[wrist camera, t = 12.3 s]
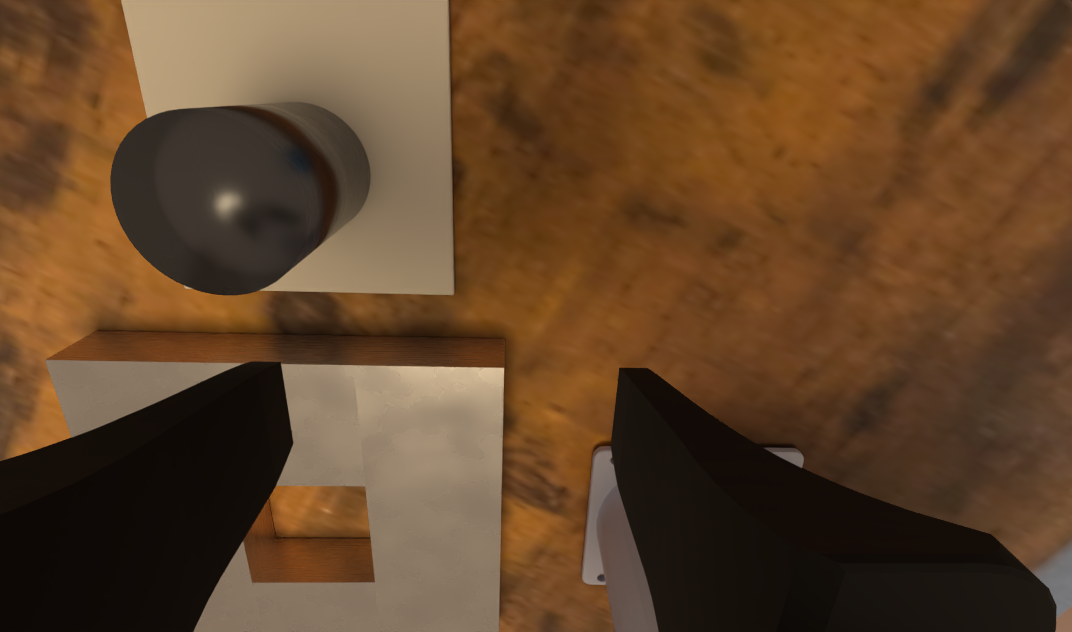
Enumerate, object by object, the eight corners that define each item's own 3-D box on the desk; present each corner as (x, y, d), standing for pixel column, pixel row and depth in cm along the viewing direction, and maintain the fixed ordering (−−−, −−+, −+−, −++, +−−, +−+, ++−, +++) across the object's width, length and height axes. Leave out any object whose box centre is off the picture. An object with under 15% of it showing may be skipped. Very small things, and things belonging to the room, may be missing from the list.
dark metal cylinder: (367, 107, 18) (297, 116, 12) (373, 235, 20) (313, 299, 14) (231, 96, 18) (89, 100, 12) (248, 228, 19) (132, 290, 13)
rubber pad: (448, -3, 17) (447, -5, 17) (454, 291, 21) (453, 295, 21) (125, -19, 17) (116, -22, 16) (190, 285, 21) (184, 288, 20)
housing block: (504, 338, 22) (503, 367, 20) (499, 618, 28) (498, 665, 26) (95, 330, 21) (45, 359, 19) (181, 620, 27) (151, 669, 25)
